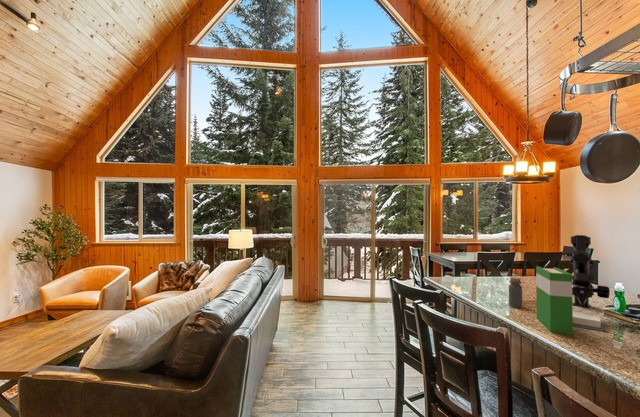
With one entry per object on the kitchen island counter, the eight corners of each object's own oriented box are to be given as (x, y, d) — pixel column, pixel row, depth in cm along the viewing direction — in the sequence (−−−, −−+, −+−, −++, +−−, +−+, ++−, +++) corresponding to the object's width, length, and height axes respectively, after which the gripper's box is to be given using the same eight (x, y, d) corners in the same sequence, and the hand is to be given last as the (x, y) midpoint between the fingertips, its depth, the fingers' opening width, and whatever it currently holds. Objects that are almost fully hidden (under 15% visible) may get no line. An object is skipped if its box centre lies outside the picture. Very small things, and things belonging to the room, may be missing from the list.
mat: (561, 317, 144) (561, 316, 144) (605, 324, 134) (605, 323, 134) (560, 324, 135) (560, 322, 135) (607, 332, 125) (607, 331, 125)
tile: (566, 309, 143) (566, 315, 135) (598, 314, 137) (600, 321, 128) (566, 316, 143) (566, 322, 135) (598, 321, 136) (600, 328, 128)
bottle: (520, 305, 162) (520, 276, 163) (523, 308, 157) (523, 278, 157) (507, 304, 164) (507, 276, 165) (510, 307, 159) (510, 278, 159)
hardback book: (536, 318, 141) (536, 266, 142) (556, 320, 139) (555, 267, 139) (550, 332, 125) (549, 273, 125) (572, 335, 122) (572, 274, 123)
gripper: (556, 264, 150) (555, 291, 141) (608, 268, 138) (611, 298, 129) (557, 278, 156) (556, 304, 147) (607, 283, 144) (610, 312, 135)
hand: (582, 304), depth 139 cm, fingers closed
